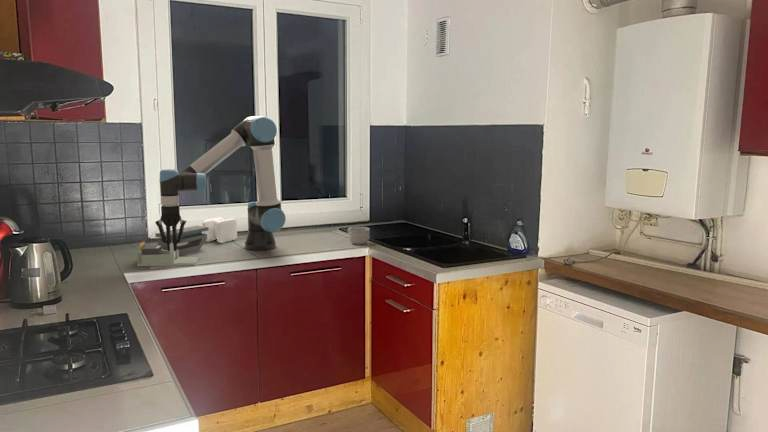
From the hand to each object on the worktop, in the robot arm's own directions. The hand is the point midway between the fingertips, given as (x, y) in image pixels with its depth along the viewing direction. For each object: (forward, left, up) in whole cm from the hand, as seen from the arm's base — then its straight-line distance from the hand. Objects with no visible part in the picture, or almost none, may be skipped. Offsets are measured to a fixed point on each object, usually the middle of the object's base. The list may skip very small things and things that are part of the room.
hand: (172, 257), depth 265 cm
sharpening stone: (-1, -20, -2) cm, 20 cm away
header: (+1, 0, -2) cm, 3 cm away
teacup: (-85, -38, -2) cm, 93 cm away
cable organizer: (-14, -47, -2) cm, 49 cm away
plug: (+8, +1, -1) cm, 8 cm away
